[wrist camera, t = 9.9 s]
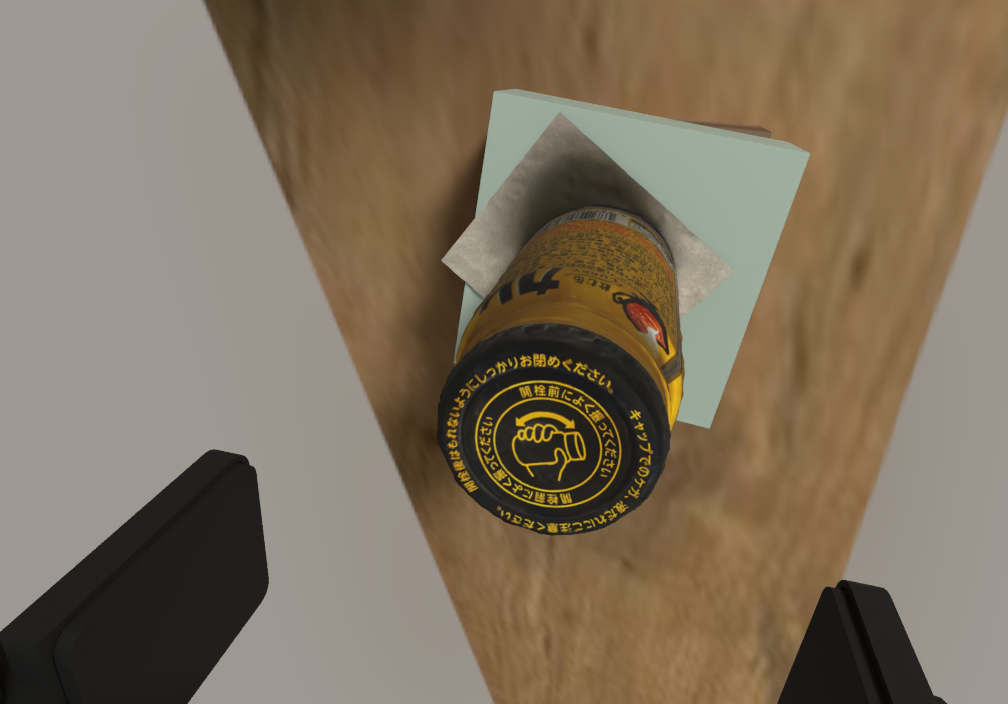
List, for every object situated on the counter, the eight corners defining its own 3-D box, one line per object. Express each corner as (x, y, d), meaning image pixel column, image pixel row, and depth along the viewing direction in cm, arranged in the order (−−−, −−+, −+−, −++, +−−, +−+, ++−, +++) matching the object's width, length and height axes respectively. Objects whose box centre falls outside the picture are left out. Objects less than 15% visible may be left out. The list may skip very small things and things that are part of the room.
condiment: (598, 393, 26) (557, 614, 16) (442, 259, 25) (285, 395, 15) (734, 269, 23) (799, 440, 12) (561, 110, 22) (471, 147, 12)
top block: (516, 89, 26) (494, 91, 22) (787, 142, 25) (810, 153, 21) (476, 329, 31) (453, 363, 27) (702, 385, 29) (709, 428, 26)
